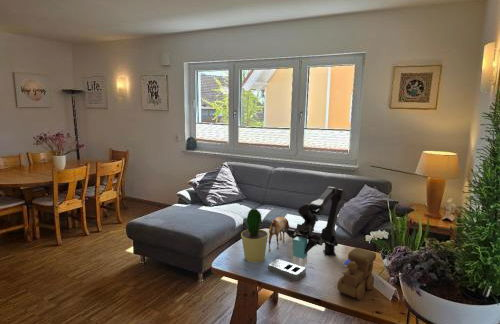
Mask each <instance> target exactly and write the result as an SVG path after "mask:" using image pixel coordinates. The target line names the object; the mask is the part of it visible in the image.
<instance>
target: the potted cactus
mask: <svg viewBox="0 0 500 324" xmlns="http://www.w3.org/2000/svg"><path fill="white" fill-rule="evenodd" d="M261 224H262V213H261V211H260V210H258V208H250V210H249V211H247V212H246V226H247V229H246V230H243V231H242V232H241V233H240V236H241V243H242V248H243V252H244V255H243V256H244V259H245V261H246V262H248V263H260V262H263V261H264V260H265V258H266V250H267V244H268V239H269V232H268V231H267V230H265V229H261V228H262V227H261Z"/></svg>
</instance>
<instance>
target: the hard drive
mask: <svg viewBox="0 0 500 324" xmlns="http://www.w3.org/2000/svg"><path fill="white" fill-rule="evenodd" d="M349 262H350V260H349V259H348V258H347V259H346V260H345V261H344V262H343V263H342V266H343V267H346V268H348V267H347V264H348V263H349Z"/></svg>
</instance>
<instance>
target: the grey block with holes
mask: <svg viewBox="0 0 500 324" xmlns="http://www.w3.org/2000/svg"><path fill="white" fill-rule="evenodd" d="M267 270H268V271H269V272H272V273H275V274H278V275H280V276H283V277H286V278H289V279H292V280H294V281H299V280H300V279H301V278H302V277H303V276H304V275H306V270H307V269H306V267H305V266H301V265H298V264H294V263H293V262H289V261H286V260H284V259H280V258H276V259H275V260H273V261H272V262H270V263H269V264H268V265H267Z"/></svg>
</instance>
